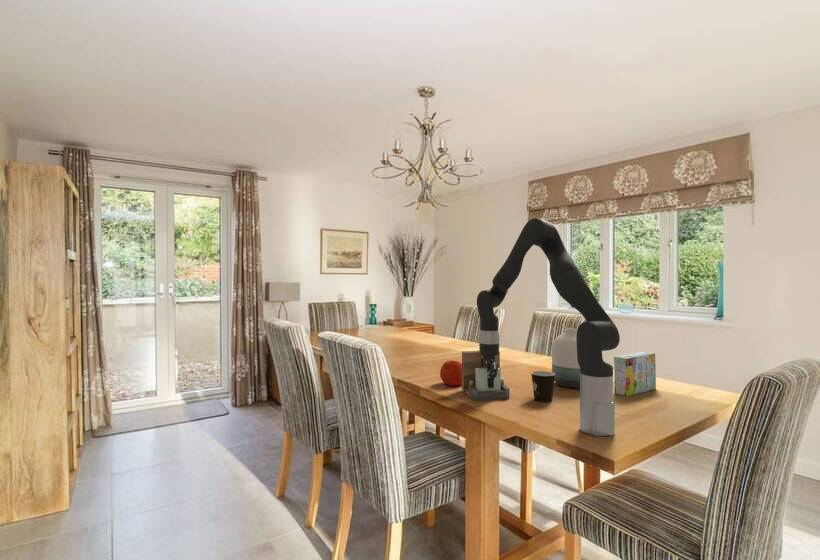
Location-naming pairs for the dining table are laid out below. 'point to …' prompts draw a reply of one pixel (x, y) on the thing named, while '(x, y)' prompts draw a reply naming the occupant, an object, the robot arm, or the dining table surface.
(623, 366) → the snack box
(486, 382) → the pale green flat block
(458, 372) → the apple
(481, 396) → the desk organizer
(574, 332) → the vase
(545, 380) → the coffee mug
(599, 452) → the dining table surface
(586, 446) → the dining table surface
